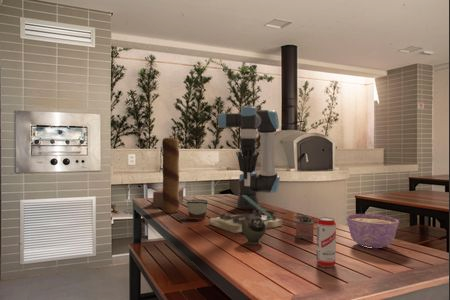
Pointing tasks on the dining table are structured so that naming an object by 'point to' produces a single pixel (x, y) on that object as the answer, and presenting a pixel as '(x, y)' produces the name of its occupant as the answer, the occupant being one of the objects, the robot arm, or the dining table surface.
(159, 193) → the tissue box cover
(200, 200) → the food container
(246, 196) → the teal strap
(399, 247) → the dining table surface
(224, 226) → the mount
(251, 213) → the charcoal strap
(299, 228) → the potted succulent
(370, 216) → the bowl of food
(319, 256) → the beer can
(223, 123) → the robot arm
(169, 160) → the wafer roll
